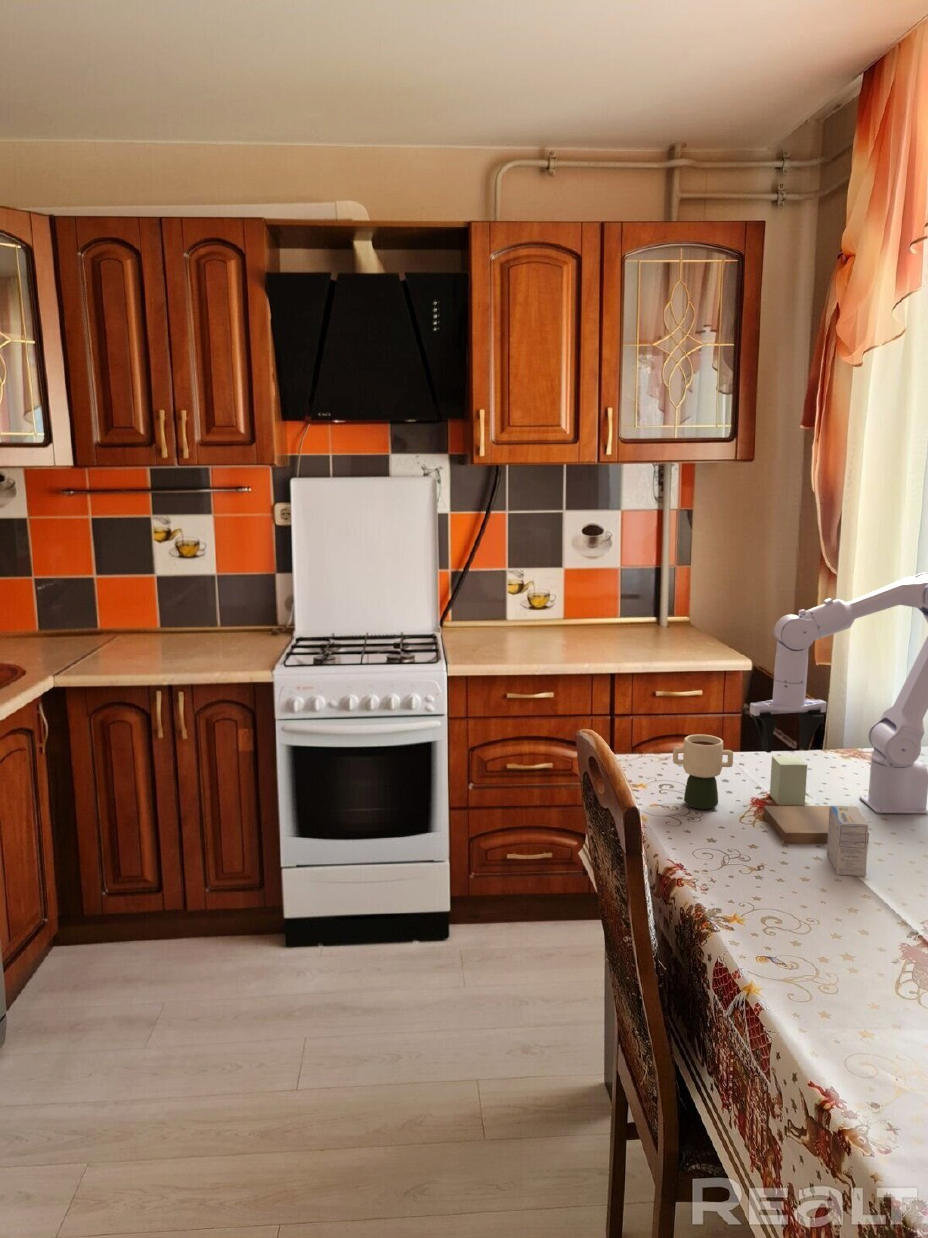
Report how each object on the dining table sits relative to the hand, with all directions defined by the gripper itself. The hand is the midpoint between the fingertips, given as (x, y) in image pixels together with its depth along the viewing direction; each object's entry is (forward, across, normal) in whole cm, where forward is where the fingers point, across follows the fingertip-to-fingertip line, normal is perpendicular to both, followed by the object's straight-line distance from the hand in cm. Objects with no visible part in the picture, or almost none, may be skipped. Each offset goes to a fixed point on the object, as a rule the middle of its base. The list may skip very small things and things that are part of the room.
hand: (785, 750), depth 166 cm
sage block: (+10, -2, -1) cm, 11 cm away
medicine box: (+11, +4, +26) cm, 29 cm away
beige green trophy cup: (+11, +16, -2) cm, 19 cm away
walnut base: (+10, +1, +13) cm, 16 cm away
